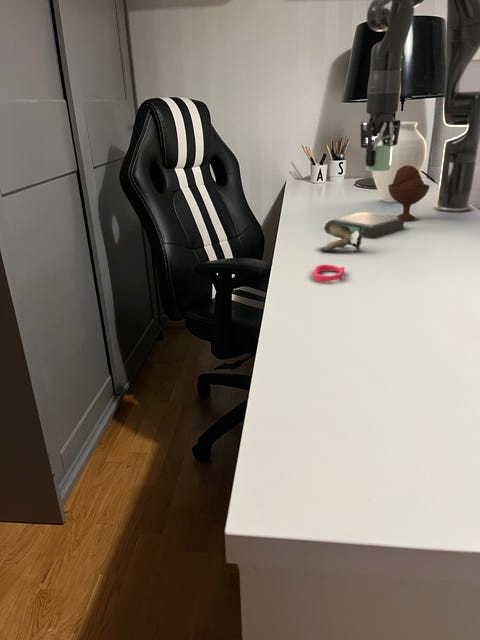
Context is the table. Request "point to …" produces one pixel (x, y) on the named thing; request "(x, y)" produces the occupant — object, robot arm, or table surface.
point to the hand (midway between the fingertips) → (377, 164)
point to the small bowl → (381, 159)
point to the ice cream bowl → (407, 189)
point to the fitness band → (328, 278)
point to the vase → (402, 157)
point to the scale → (371, 224)
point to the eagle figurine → (342, 236)
